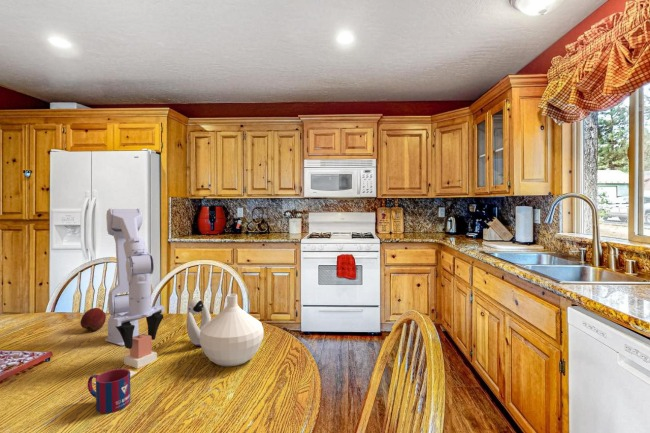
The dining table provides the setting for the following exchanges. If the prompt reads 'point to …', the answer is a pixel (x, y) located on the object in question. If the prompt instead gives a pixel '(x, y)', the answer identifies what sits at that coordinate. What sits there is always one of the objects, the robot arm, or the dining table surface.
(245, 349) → the vase
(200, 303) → the toy
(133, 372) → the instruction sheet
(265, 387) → the dining table surface
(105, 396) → the mug
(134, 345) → the red brick
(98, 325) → the apple
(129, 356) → the base brick
